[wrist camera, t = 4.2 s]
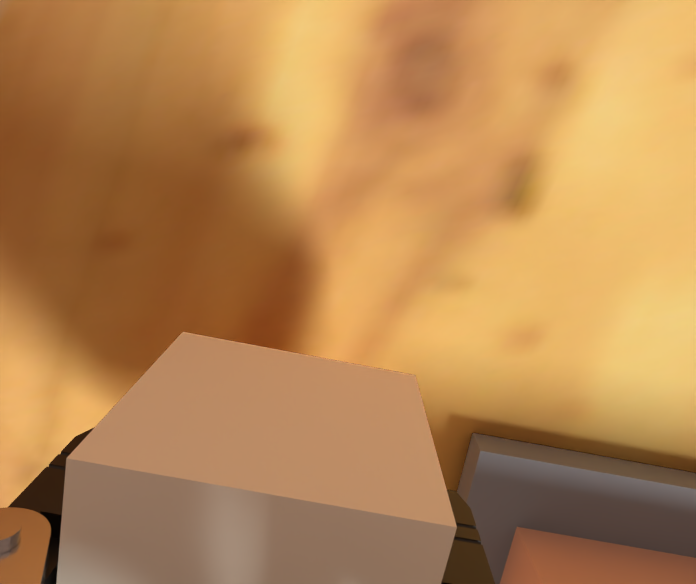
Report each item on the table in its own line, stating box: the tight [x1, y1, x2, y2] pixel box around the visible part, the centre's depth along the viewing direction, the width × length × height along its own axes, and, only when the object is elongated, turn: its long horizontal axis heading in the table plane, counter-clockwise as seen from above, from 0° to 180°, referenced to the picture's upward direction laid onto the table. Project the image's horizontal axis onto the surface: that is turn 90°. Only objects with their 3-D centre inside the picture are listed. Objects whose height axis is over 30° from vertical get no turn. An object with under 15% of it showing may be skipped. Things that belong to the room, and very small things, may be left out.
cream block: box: [56, 332, 457, 584], centre depth 10 cm, size 5×5×5 cm
